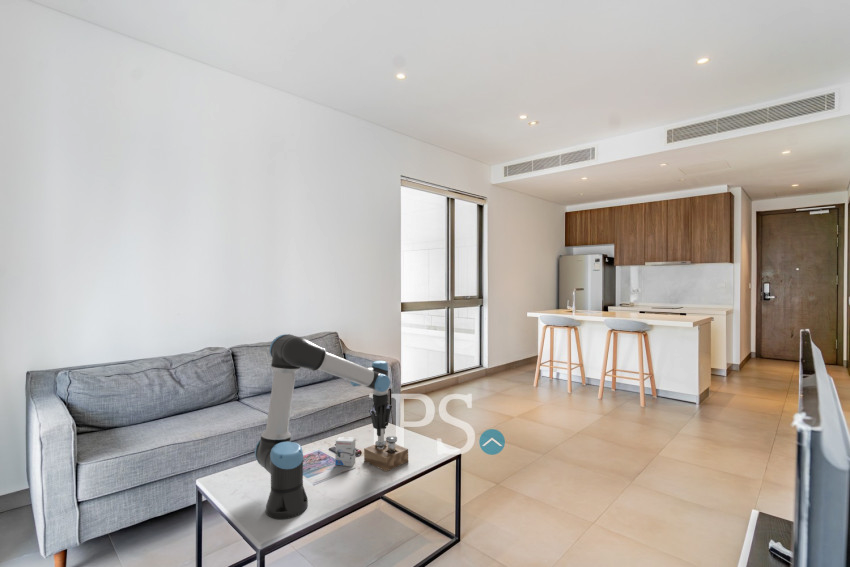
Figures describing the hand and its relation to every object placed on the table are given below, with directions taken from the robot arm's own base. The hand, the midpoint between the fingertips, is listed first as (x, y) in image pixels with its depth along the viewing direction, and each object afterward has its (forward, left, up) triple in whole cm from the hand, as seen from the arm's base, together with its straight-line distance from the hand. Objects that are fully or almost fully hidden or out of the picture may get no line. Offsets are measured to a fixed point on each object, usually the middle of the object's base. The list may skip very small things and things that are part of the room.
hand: (380, 441), depth 203 cm
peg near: (0, -8, -3) cm, 9 cm away
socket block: (0, -4, -8) cm, 9 cm away
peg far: (0, 0, -8) cm, 8 cm away
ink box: (-15, +8, -9) cm, 19 cm away
